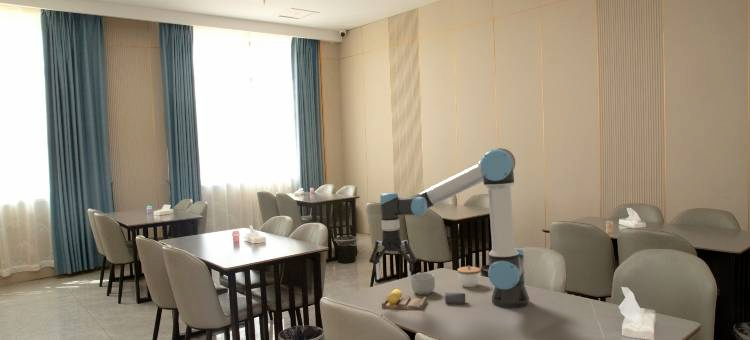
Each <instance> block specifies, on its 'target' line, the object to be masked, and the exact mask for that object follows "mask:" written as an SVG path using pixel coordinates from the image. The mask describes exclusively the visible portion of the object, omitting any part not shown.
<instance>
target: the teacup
mask: <svg viewBox="0 0 750 340" xmlns="http://www.w3.org/2000/svg"><path fill="white" fill-rule="evenodd" d="M435 281H436V280H435V274H433V273H432V272H431V273H429V272H417V273H414V274H411V279H410V282H411V289H412V291H413V292H415V293H416V294H417V295H420V296H422V295H423V296H424V295H430V294H431V293H432V292H433V291H434V290H435V287H436V285H435V284H436V283H435Z"/></svg>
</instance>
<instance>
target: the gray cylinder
mask: <svg viewBox="0 0 750 340" xmlns="http://www.w3.org/2000/svg"><path fill="white" fill-rule="evenodd" d="M444 300H445V301H444V302H445V304H451V305H452V304H453V305H454V304H457V305H465V304H466V293H464V292H445V296H444Z"/></svg>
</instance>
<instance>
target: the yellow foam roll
mask: <svg viewBox="0 0 750 340" xmlns="http://www.w3.org/2000/svg"><path fill="white" fill-rule="evenodd" d="M387 296H388V298H387V300H388V302H389V304H391V305H394V304H396V303H397V302H398V301H399V299H400V298H403V292H402V291H401V290H400V289H398V288H396V289H393V291H391V292H390V294H389V295H387Z"/></svg>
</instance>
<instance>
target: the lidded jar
mask: <svg viewBox="0 0 750 340" xmlns="http://www.w3.org/2000/svg"><path fill="white" fill-rule="evenodd" d="M457 278H458V280H459V282H460V284H462V286H463V287H464V288H475V287H476V286H477V285H478V284H479V282H480V280H481V268H480V267H477V266H471V265H467V266H461V267H459V268H457Z"/></svg>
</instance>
